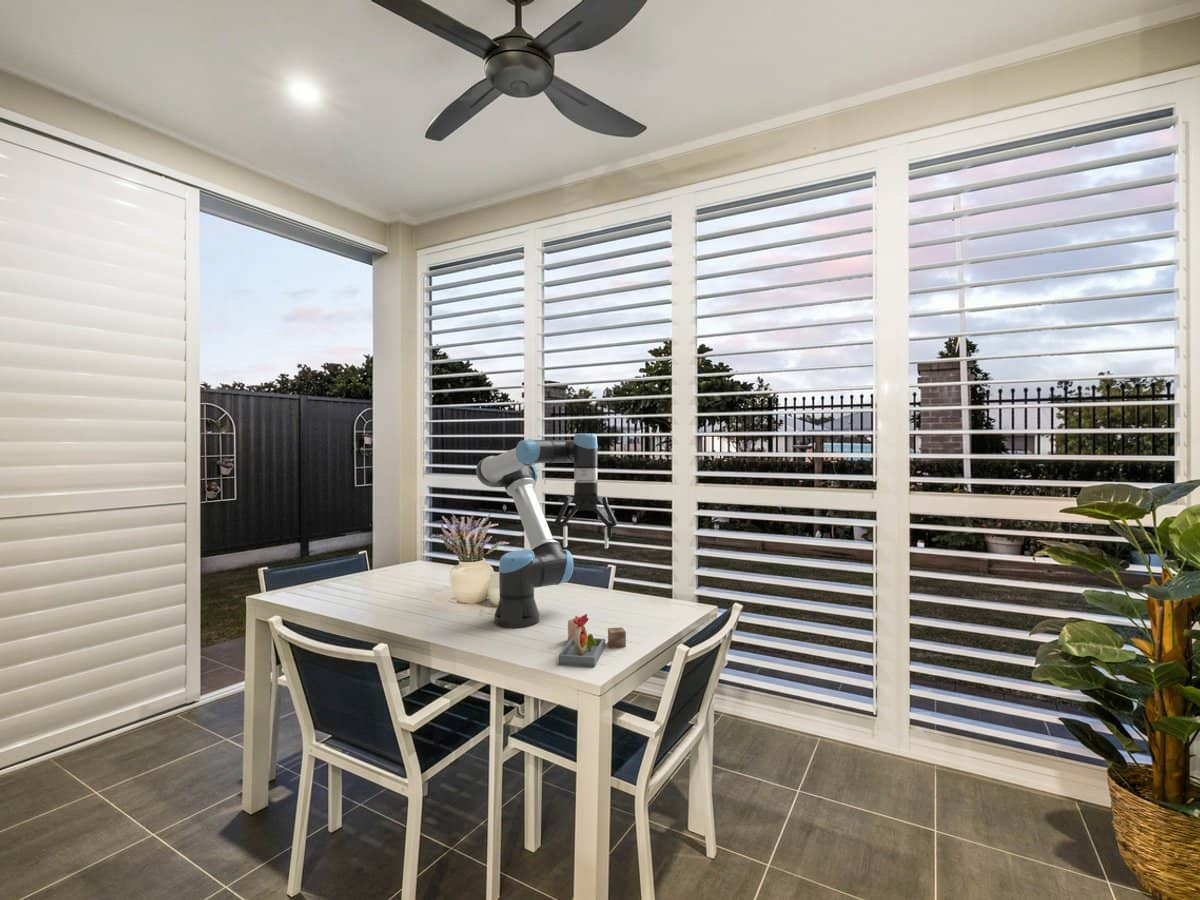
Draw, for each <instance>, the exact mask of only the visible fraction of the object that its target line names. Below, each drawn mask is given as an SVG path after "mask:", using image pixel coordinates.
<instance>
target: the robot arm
mask: <svg viewBox="0 0 1200 900" xmlns="http://www.w3.org/2000/svg"><path fill="white" fill-rule="evenodd" d="M598 448H599V445H598V436H597V435H596V434H595V433H576V434H574V436H573V439H530V438H529V439H523V440H520V441H519V442H518V443H517V444H516V447H515V448H512V449H509V450H507V451H505V452H502V453H500V454H499V455H490V456H486V457H484V458H483V459H481V460H480V461H479V462H478V464H477V466H476V468H475V473H476V477H477V479H478V480H479V481H480V482H481V484H482V485H485V486H486V487H488V488H504V489H505V492H506V494H507V495H508V496H509V497H512V500H513V502H514V505H515V508H516V510H517V513H518V516H519V518H520V521H521V524H522V526H523V530H524V531H525V535H526V537H527V540H528V544H529V546H530V549H522V550H521V549H517V550H513V551H509V552H506V553H505V554H503V555H501V556H500V559H499V566H498V573H499V574H498V575H499V578H498V580H499V583H498V584H499V587H498V589H499V599H498V603H497V606H496V608H495V612H494V616H493V619H494V621H493V622H494V624H495V625H496V626H499V627H503V628H510V629H511V628H514V629H515V628H516V629H517V628H525V627H526V628H527V627H531V626H533V625H534V626H535V625H537V624H538V623H539V622H540V612H539V609H538V607H537V606H538V605H537V603H536V600H535V589H536V588H542V587H548V586H549V587H550V586H556V585H557V586H558V585H560V584H564V583H567V582H568V581H569V580H570V579H571V577H572V575H573V571H574V557H573V555H572V553H571V552H570V551H569V550H568V549H562V548H567V547H568V525H567V523H568V522H569V521H570V519H572V517H573V516H574V515H575V514H576V512H577V511H589V512H590V511H593V512H594V513H595V514H596V515H597V517H598V518H599V519H600V521H602V523H603V524H604V525H605V526H606V527H604V549H608V548H609V539H610V538H612V536H613V535H612V533H613V532H612V529H613V527H615V526H617V525H618V521H617V518H616V516H615V515H614V513H613V511H612V509H611V507H610V505H609V501H608V497H607V496H602V497H599V495H598V482H597V481H598ZM552 463H553V464H554V463H555V464H556V463H557V464H559V463H565V464H567V463H573V480H574V481H575V482H574V483H573V496H569V495H567V496H565V497H564V499H563V504H562V506H561V508H560V511H559V512H558V514H557V516H556V518H555V521H554V525H557V526H559V529H560V530H559V531H560V532H559V533H560V534H559V535H560V537H562V539H563V540H562V546H563V547H562V546H561V543H560V542H559V541H557V540H556V539H554V537H553V535H552V532H551V529H550V527H549V525H548V522H547V519H546V517H545V515H544V512H543V509H542V506H541V504H540V502H539V498H538V496H537V494H536V491H535V487H536V483H537V481H538V477H539V476H538V475H539V474H538V468H537V466H536V465H537V464H552ZM572 502H573V504H574V506H573V508H572V509H571V510H570V512H569V513H567V515H566V516H565V517H564V515H565V513H566V511H567V508H568V506H569V504H570V503H572ZM599 502H600V503H601V504H602V506H603V508H604V510H605V513H606V514H607V516H608V518H609V519H608V518H607V517H606V515H605V514H604V513H603V512H602V511H601V509H600V508H599V507H598V503H599ZM563 517H564V519H563V520H562V518H563Z"/></svg>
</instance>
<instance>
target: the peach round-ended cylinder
mask: <svg viewBox="0 0 1200 900" xmlns="http://www.w3.org/2000/svg"><path fill="white" fill-rule="evenodd" d="M573 619H574V618H572V619H568V621H567V643H568V642H569V640H570V639H571V638H572V637H574V633H575V630H576V627H577V626H578V625H577V624H575V623H574V622H573ZM580 634H581V633H580Z"/></svg>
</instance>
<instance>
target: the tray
mask: <svg viewBox="0 0 1200 900" xmlns="http://www.w3.org/2000/svg"><path fill="white" fill-rule="evenodd" d="M593 639H594V640H595V641H596V642H597V644H596V645H595V646H592V648H591V650H588V649H587V648H586V650H585V652H584V653H583V655H582V656H580V655H578V652H577V651H576V649H575V646H574V637H572V638H571V639H570V640H569V642H568V641H567V643H566V645H565V646H564V647H563V648H562V650H561V651H560V653H559V654H558V665H561V666H562V665H563V666H575V667H590V668H595V667H596V666H597V663H598V661H599V659H600V658H601V656H602V654H603V652H604V650H605V648H606V638H597V637H593Z"/></svg>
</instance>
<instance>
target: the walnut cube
mask: <svg viewBox="0 0 1200 900" xmlns="http://www.w3.org/2000/svg"><path fill="white" fill-rule="evenodd" d="M626 639H627V632H626V630H625V629H624V627H621V626H620V627H618V626H617V627H608V628H607V643H608V645H609V647H610V648H625V647H626V645H627V644H626V643H627V642H626V641H627V640H626Z"/></svg>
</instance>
